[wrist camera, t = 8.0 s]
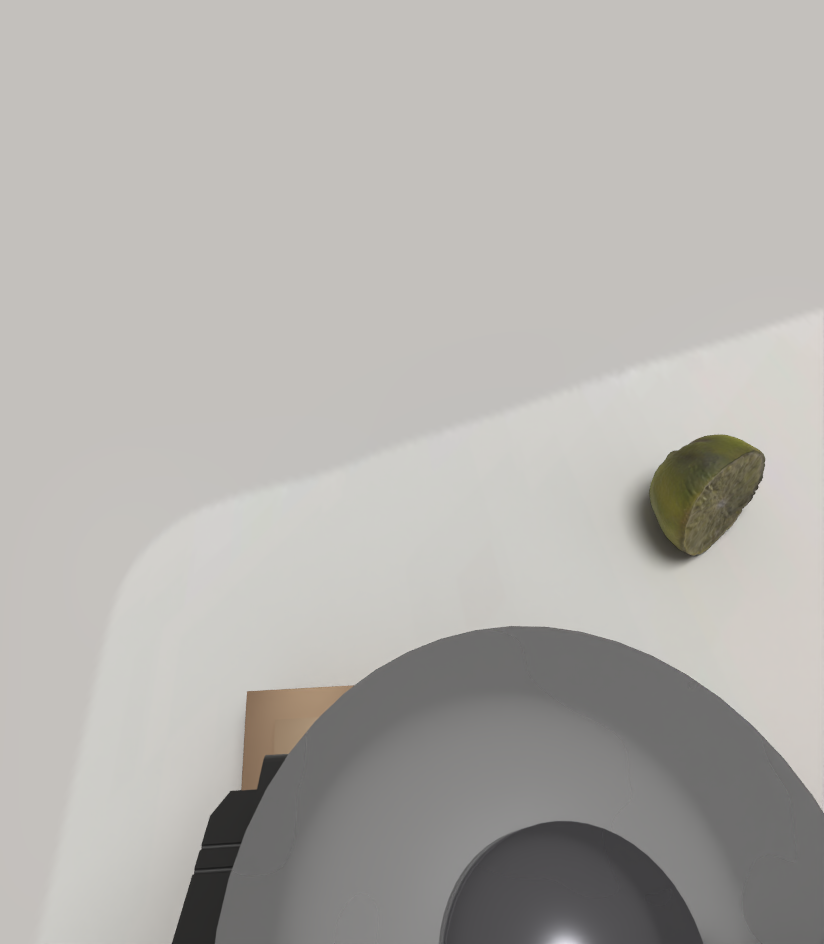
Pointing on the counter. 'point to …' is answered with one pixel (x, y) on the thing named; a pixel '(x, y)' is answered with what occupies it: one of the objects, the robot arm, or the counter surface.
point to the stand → (280, 723)
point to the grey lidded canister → (530, 809)
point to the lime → (704, 489)
